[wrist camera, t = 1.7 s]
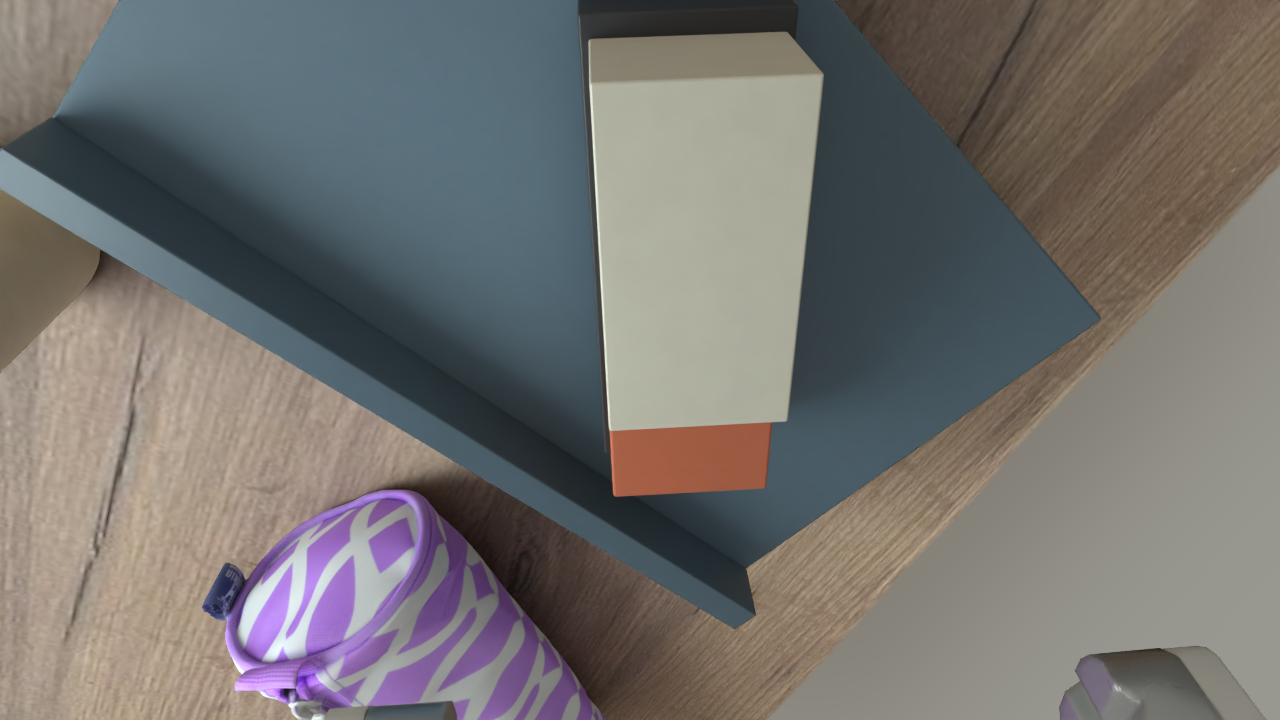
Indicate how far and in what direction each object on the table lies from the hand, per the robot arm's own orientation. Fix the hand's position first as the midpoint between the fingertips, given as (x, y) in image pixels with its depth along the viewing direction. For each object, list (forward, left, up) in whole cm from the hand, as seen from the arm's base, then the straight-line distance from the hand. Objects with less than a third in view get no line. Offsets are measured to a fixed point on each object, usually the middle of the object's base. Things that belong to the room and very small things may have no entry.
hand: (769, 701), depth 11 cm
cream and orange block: (0, 0, -13) cm, 13 cm away
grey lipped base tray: (+1, -1, -19) cm, 19 cm away
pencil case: (+23, +10, -19) cm, 31 cm away
